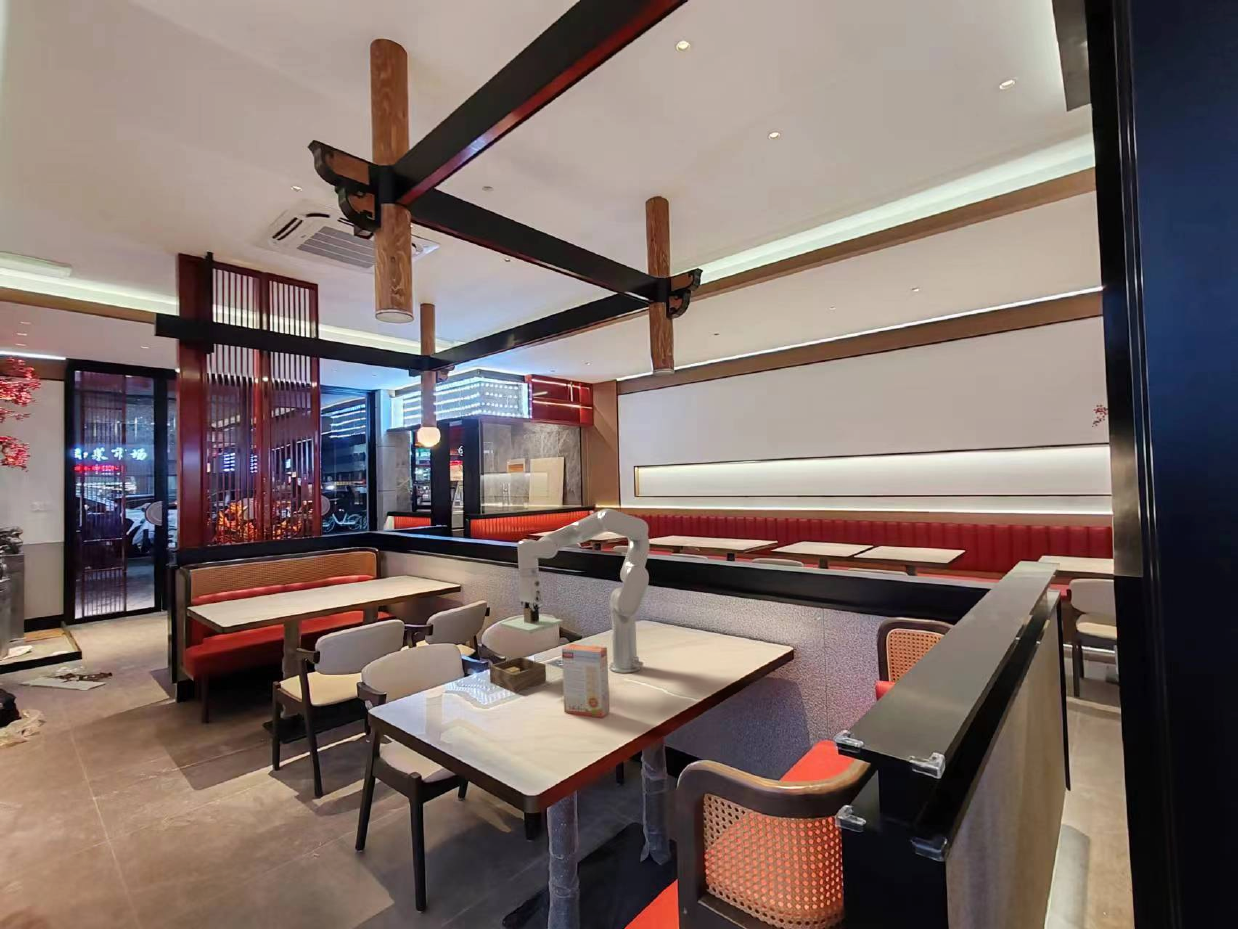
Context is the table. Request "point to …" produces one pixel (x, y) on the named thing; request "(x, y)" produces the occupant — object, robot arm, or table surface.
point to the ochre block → (513, 670)
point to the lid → (527, 624)
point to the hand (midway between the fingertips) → (531, 619)
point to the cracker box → (585, 680)
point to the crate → (518, 674)
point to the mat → (556, 663)
